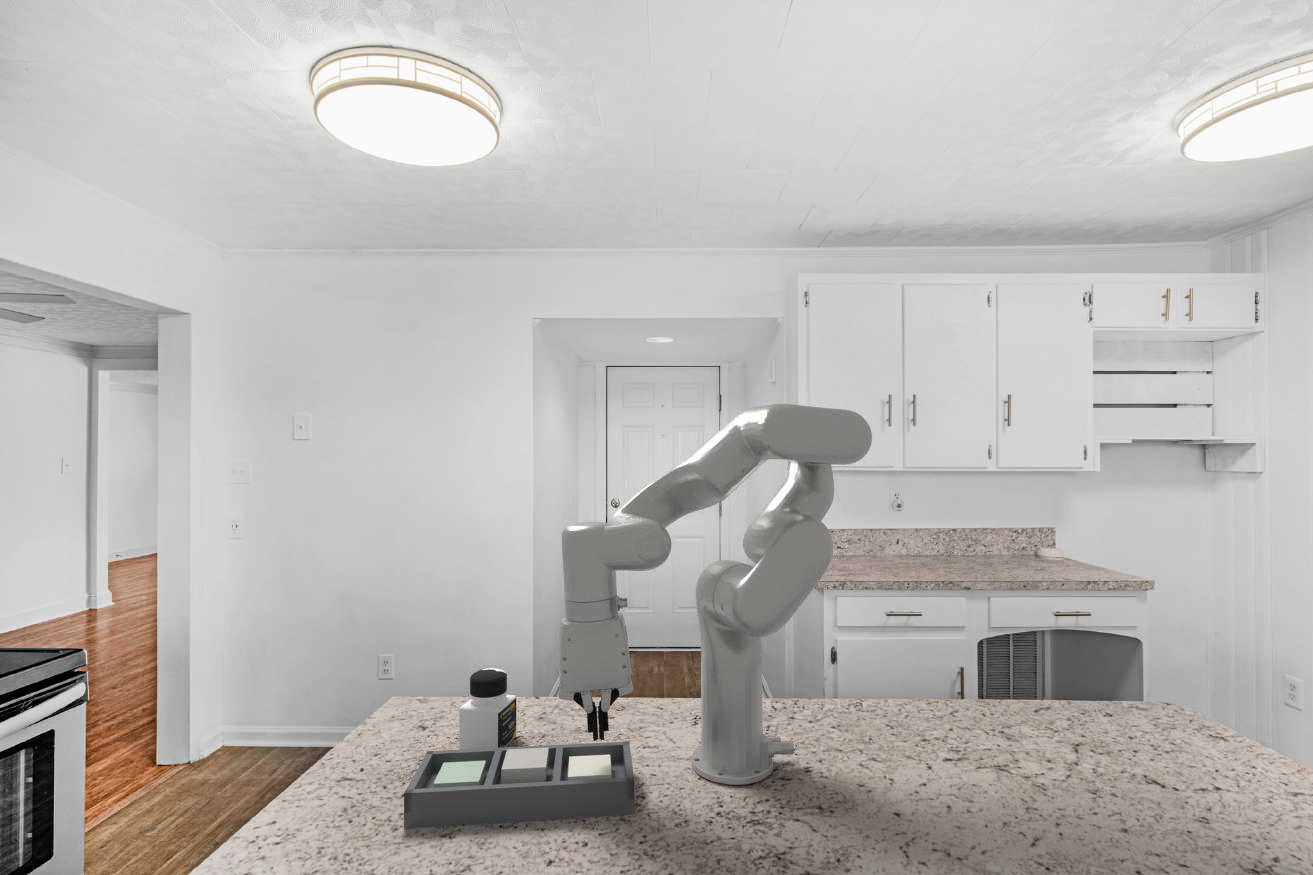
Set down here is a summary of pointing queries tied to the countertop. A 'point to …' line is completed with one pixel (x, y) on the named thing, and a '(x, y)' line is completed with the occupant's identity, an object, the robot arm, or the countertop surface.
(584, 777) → the cream key
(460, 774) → the sage key
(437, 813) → the grey compartment tray
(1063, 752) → the countertop surface
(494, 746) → the medicine bottle
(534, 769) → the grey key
